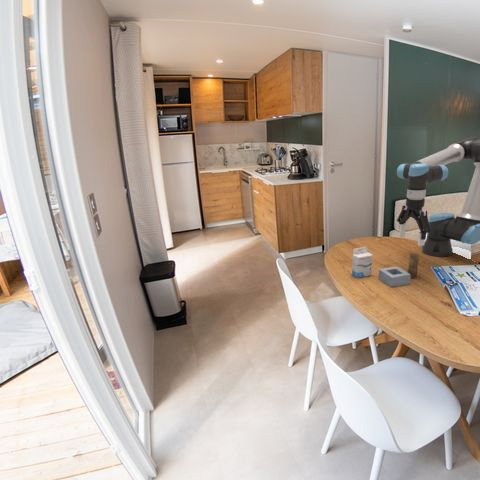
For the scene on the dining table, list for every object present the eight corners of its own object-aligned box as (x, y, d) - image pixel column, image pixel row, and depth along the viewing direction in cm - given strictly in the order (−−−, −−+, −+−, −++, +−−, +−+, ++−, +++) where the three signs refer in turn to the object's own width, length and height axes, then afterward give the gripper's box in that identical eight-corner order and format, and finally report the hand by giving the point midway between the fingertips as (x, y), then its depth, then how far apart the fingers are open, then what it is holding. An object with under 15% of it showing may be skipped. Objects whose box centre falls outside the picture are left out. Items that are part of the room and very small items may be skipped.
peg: (412, 274, 154) (415, 252, 150) (418, 277, 150) (421, 255, 146) (405, 275, 153) (408, 253, 149) (411, 278, 149) (413, 256, 145)
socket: (396, 274, 155) (397, 266, 153) (409, 283, 145) (410, 274, 144) (378, 277, 153) (379, 269, 152) (390, 287, 144) (391, 277, 142)
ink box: (356, 278, 155) (358, 252, 150) (351, 274, 159) (352, 248, 155) (371, 275, 156) (373, 249, 152) (365, 271, 161) (367, 246, 156)
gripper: (391, 194, 150) (388, 234, 157) (427, 204, 127) (422, 250, 134) (405, 192, 151) (401, 232, 158) (444, 202, 128) (437, 248, 135)
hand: (411, 240), depth 146 cm, fingers open, 13 cm apart
